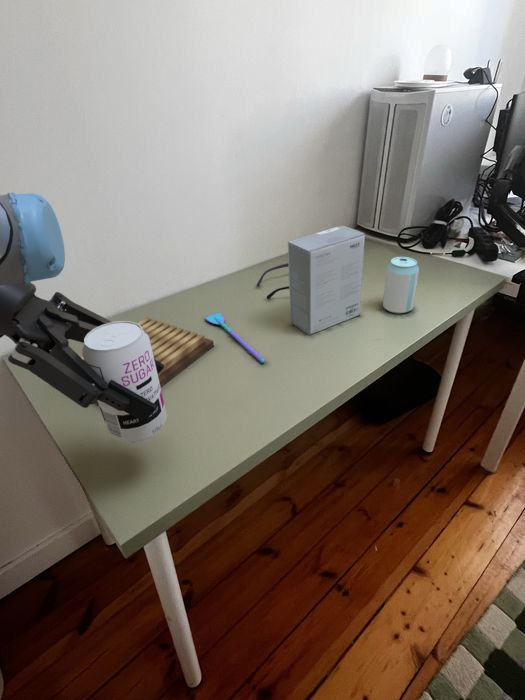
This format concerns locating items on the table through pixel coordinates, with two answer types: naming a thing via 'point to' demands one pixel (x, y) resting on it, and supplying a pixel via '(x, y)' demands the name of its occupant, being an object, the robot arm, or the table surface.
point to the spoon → (232, 333)
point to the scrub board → (173, 347)
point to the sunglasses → (278, 288)
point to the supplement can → (126, 376)
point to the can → (400, 285)
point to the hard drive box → (325, 278)
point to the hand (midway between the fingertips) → (154, 391)
